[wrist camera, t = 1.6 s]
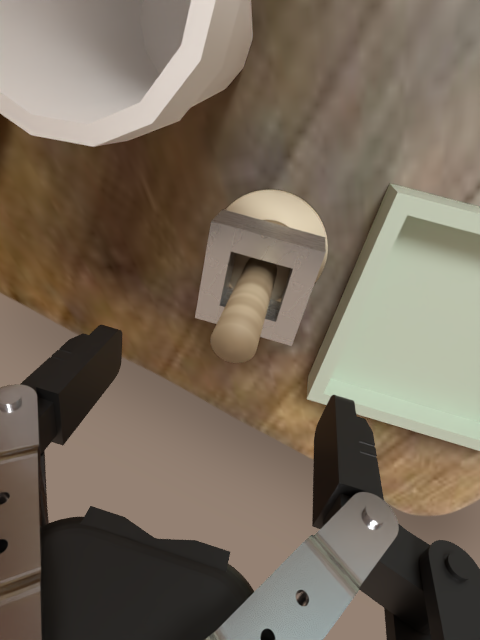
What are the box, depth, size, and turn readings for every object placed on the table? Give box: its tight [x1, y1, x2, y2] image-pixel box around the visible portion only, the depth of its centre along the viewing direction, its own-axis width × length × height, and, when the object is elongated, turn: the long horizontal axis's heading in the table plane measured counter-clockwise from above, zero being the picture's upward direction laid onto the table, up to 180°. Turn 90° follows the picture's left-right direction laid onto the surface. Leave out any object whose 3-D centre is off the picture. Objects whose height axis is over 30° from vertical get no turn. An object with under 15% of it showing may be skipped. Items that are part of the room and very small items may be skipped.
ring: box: [195, 209, 326, 346], centre depth 21 cm, size 6×6×2 cm
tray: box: [307, 184, 480, 451], centre depth 24 cm, size 16×16×3 cm
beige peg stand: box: [210, 189, 328, 363], centre depth 20 cm, size 8×8×12 cm
